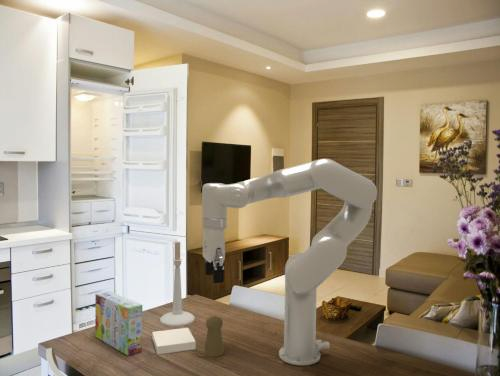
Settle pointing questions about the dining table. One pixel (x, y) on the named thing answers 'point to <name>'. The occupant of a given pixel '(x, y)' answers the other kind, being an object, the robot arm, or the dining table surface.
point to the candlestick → (177, 298)
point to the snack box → (119, 322)
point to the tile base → (173, 340)
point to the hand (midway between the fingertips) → (214, 278)
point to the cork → (214, 337)
